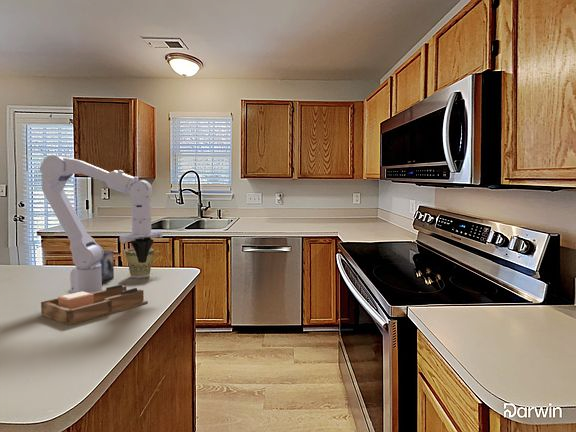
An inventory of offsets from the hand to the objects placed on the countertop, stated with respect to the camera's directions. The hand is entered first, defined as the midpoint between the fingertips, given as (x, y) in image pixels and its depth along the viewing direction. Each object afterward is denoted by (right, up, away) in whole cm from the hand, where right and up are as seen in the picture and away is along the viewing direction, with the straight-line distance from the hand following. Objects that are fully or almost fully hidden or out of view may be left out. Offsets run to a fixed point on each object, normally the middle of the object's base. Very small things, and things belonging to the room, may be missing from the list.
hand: (142, 262), depth 139 cm
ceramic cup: (-8, -8, +27) cm, 29 cm away
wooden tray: (-8, -12, -14) cm, 20 cm away
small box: (-21, -9, +18) cm, 29 cm away
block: (-11, -12, -19) cm, 25 cm away
